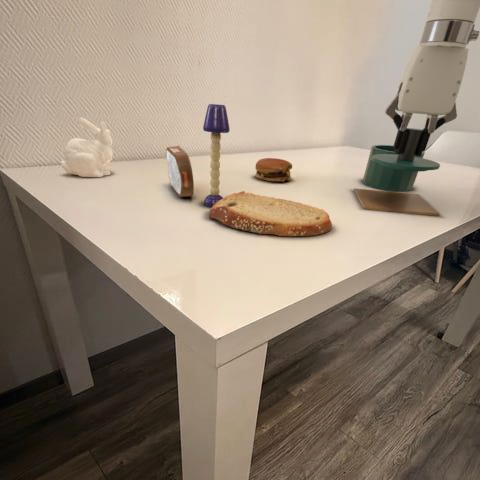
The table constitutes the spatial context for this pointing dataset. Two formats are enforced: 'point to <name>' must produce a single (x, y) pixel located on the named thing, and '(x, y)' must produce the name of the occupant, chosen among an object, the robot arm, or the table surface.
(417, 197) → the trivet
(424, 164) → the tin lid
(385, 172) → the enamel tin
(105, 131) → the rabbit
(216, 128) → the toy lamp
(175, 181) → the tin
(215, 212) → the bread slice
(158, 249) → the table surface
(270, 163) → the burger
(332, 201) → the table surface
